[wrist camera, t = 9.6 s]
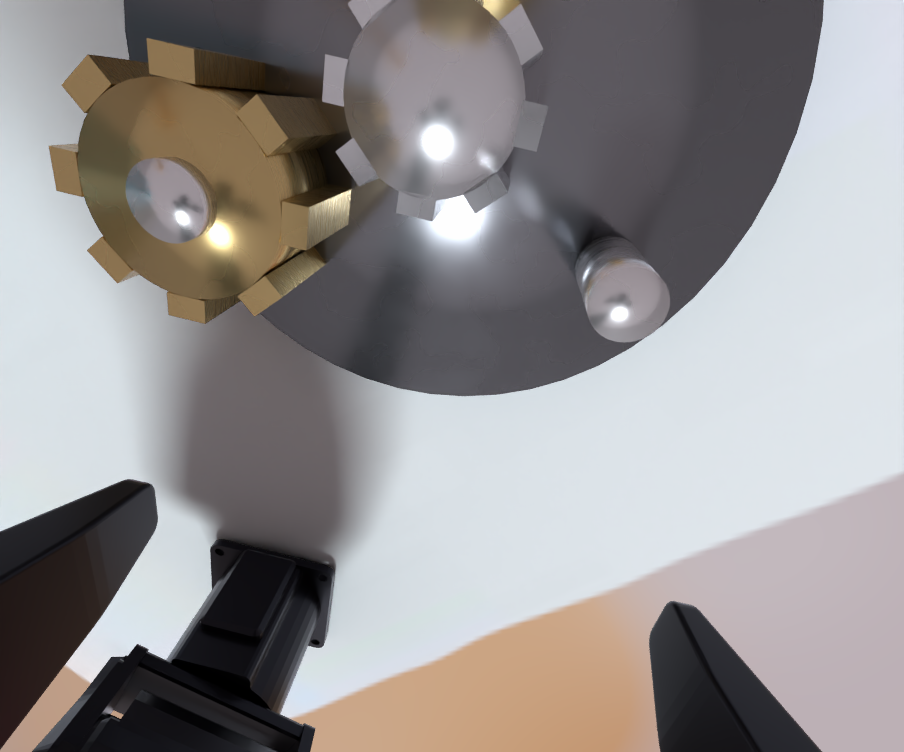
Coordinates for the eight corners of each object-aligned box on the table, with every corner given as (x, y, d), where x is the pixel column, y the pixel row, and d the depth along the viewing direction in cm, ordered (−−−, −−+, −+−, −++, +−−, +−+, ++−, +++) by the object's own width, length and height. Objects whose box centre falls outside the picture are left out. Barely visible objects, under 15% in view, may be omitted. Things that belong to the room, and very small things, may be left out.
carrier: (637, 425, 20) (674, 528, 15) (178, 314, 20) (66, 379, 15) (970, -285, 11) (1346, -622, 6) (123, -468, 11) (-197, -932, 6)
